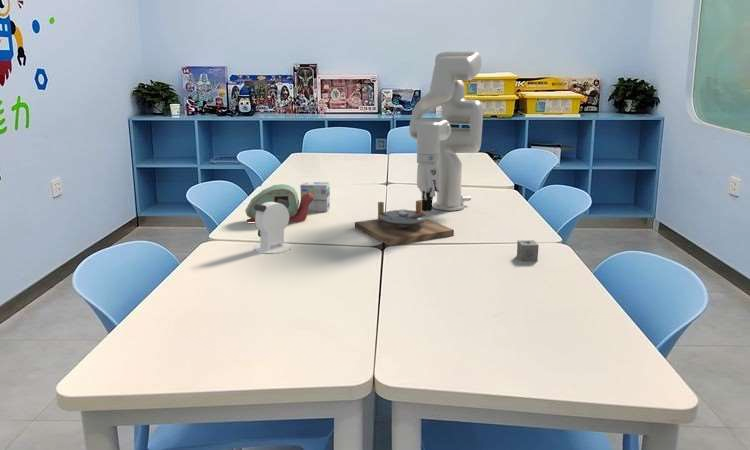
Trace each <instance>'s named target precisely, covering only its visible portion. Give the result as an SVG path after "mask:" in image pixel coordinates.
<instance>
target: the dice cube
mask: <svg viewBox="0 0 750 450" xmlns="http://www.w3.org/2000/svg"><path fill="white" fill-rule="evenodd" d="M516 247H517V248H516V257H517V258H518V259H519V261H520V262H538V261H539V258H538V257H539V244H538V243H537V242H536V241H535V239H534V240H533V239H532V240H530V239H529V240H523V239H522V240H517V245H516Z"/></svg>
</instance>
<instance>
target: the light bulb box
mask: <svg viewBox="0 0 750 450" xmlns="http://www.w3.org/2000/svg"><path fill="white" fill-rule="evenodd" d="M299 186H300V188H299V189H300V198H301V197H302V196H303V195H304V194H306V193H307V192H308V189H309V192H308V193H309V194H312V195H313V197H314V199H313V201H312V202H311V203H310V204H309V206H308V212H316V211H318V212H320V213H321V212H324V213H326V212H328V211H329V210H330V209H331V196H330V195H331V193H330V188H331V186H330V182H329V181H303V182H302V183H301V184H300V185H299ZM308 187H309V188H308Z"/></svg>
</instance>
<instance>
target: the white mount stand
mask: <svg viewBox="0 0 750 450" xmlns="http://www.w3.org/2000/svg"><path fill="white" fill-rule="evenodd" d="M288 207H289V202H288V201H287V200H282V199H278V200H277V203H275V202H267V203H264V204H262V205H260V204H255V206H254V210H257V211H256V216H255V223H254V224H255V226H256V228H257V229H258V231H257V236H258V237H259V238H260V243H259V244H258V245H256V246H255V247H254V251H255V250H256V251H258V252H257V253H259V252H262V253H261V254H264V253H277V254H282V253H281V252H283V253H286V252H288V251H290V250H291V249H290V248H292V246H291V244H289V243H286V242H285V240H284V239H285V229H286V228H287V227H288V224H289V223H290V222H289V212H288V210H287V208H288ZM288 222H289V223H288ZM289 249H290V250H289ZM287 250H288V251H287ZM256 251H255V252H256ZM285 251H286V252H285Z"/></svg>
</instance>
